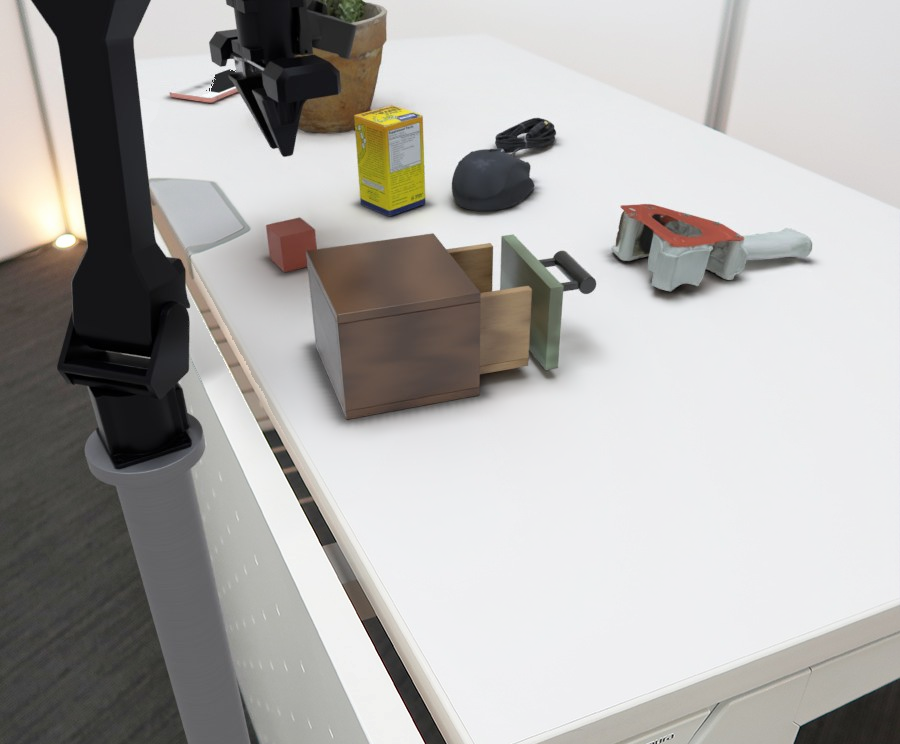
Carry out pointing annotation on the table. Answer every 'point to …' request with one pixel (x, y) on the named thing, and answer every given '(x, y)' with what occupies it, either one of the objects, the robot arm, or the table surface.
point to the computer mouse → (500, 169)
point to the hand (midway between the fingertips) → (281, 151)
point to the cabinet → (395, 324)
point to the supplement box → (390, 159)
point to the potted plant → (349, 69)
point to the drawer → (520, 302)
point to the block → (290, 243)
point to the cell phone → (214, 88)
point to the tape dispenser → (696, 245)
